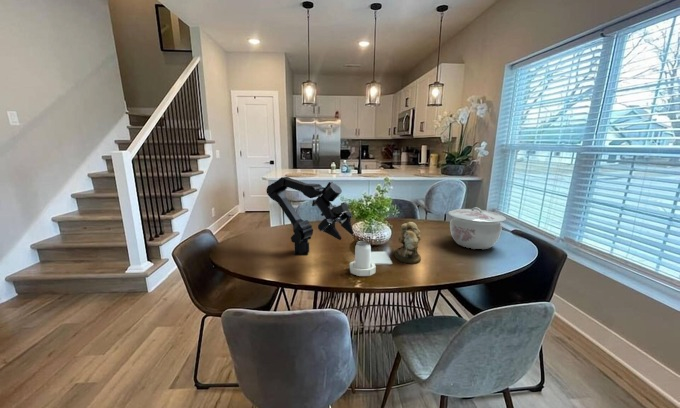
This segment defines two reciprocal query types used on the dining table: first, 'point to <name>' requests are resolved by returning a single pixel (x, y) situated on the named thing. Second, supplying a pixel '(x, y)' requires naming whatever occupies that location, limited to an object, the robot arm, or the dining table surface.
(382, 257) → the mat
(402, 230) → the owl figurine
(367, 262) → the can
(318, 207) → the robot arm
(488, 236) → the chamber pot
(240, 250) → the dining table surface
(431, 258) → the dining table surface
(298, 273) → the dining table surface
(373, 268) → the ring
